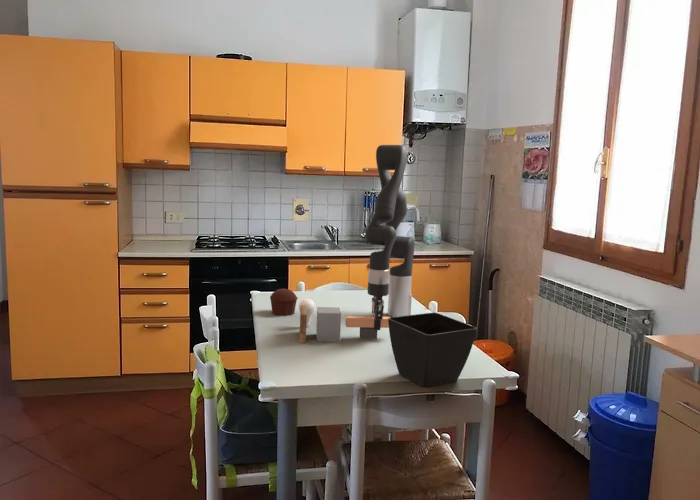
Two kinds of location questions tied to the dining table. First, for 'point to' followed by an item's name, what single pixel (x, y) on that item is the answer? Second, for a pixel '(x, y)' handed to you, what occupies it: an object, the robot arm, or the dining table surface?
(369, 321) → the dowel
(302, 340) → the wooden board
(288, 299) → the muffin
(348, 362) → the dining table surface
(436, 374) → the flower pot
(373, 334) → the block
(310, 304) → the lightbulb
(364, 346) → the dining table surface
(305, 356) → the dining table surface
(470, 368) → the dining table surface
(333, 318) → the block
